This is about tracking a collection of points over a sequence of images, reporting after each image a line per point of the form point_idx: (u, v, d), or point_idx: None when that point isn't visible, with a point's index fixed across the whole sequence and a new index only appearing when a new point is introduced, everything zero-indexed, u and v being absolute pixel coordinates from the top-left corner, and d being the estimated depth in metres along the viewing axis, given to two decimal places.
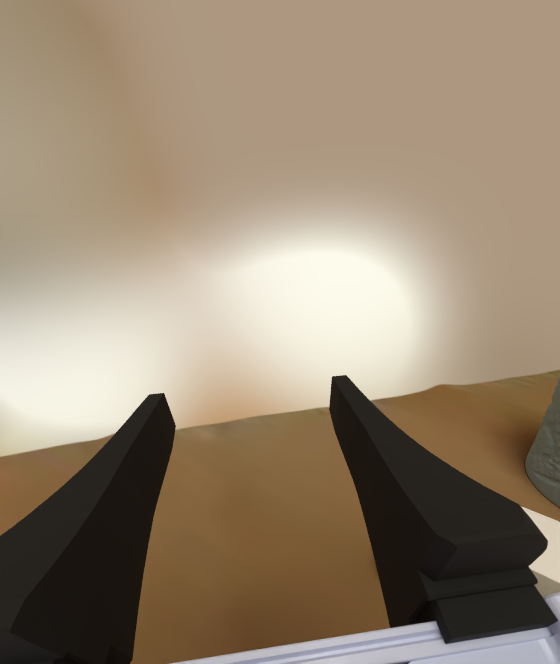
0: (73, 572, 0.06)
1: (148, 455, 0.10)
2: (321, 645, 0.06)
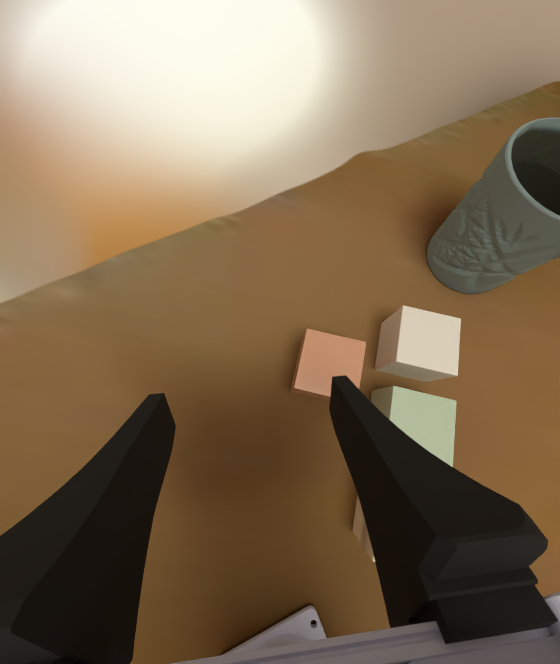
0: (73, 572, 0.06)
1: (148, 455, 0.10)
2: (321, 645, 0.06)
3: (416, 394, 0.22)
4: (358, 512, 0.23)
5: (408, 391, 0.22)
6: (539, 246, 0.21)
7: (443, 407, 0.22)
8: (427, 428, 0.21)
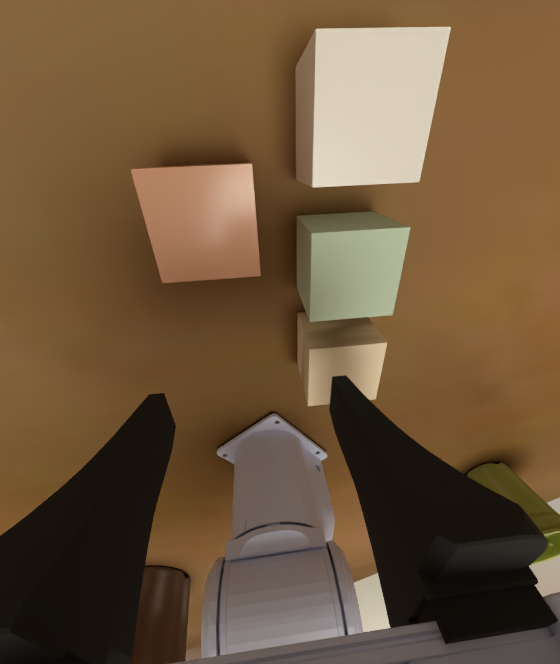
0: (73, 572, 0.06)
1: (148, 455, 0.10)
2: (321, 645, 0.06)
3: (348, 236, 0.14)
4: (298, 353, 0.23)
5: (336, 234, 0.14)
6: None
7: (389, 243, 0.14)
8: (363, 278, 0.15)
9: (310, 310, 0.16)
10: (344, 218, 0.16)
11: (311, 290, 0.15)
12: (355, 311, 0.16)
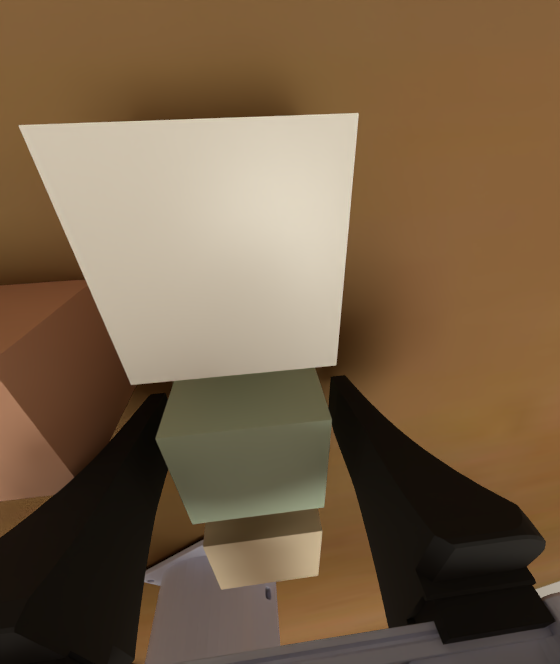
0: (76, 572, 0.06)
1: (150, 455, 0.10)
2: (321, 645, 0.06)
3: (223, 436, 0.08)
4: None
5: (201, 436, 0.08)
6: None
7: (298, 439, 0.08)
8: (266, 478, 0.09)
9: (189, 513, 0.10)
10: None
11: (181, 495, 0.09)
12: (262, 509, 0.10)
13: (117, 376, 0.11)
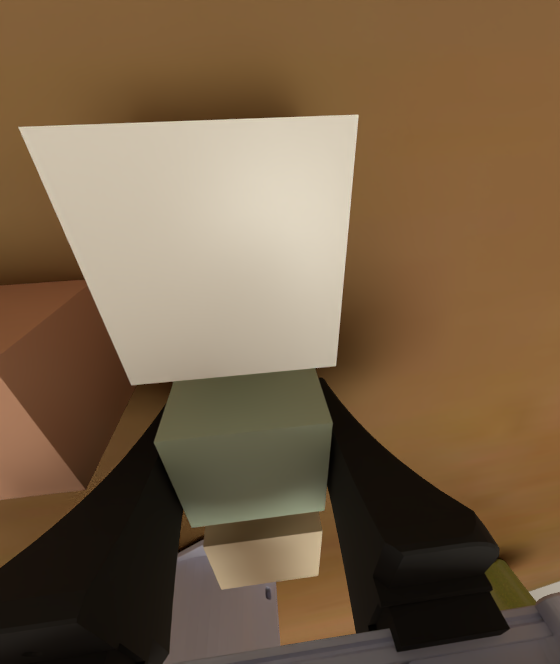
0: (123, 565, 0.06)
1: None
2: (321, 645, 0.06)
3: (223, 440, 0.08)
4: None
5: (200, 440, 0.08)
6: None
7: (299, 443, 0.08)
8: (266, 481, 0.09)
9: (188, 516, 0.10)
10: None
11: (180, 499, 0.09)
12: (262, 512, 0.10)
13: (117, 376, 0.11)
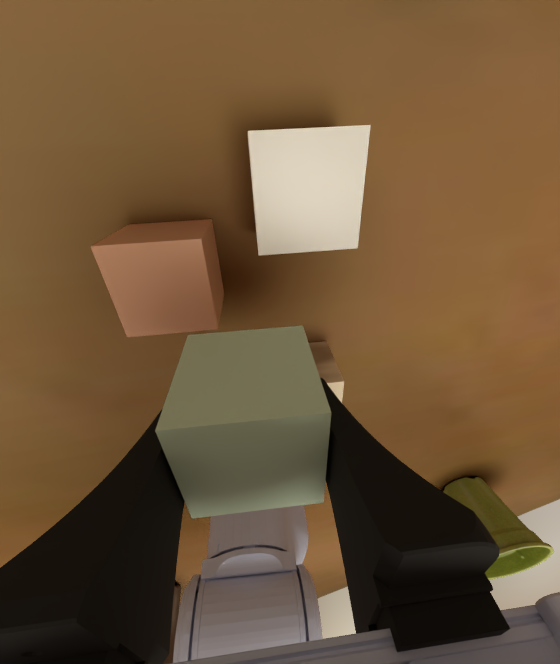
0: (123, 565, 0.06)
1: None
2: (321, 645, 0.06)
3: (223, 429, 0.08)
4: None
5: (201, 429, 0.08)
6: None
7: (298, 433, 0.08)
8: (265, 472, 0.09)
9: (188, 507, 0.10)
10: (248, 354, 0.11)
11: (181, 489, 0.09)
12: (262, 503, 0.10)
13: (219, 281, 0.18)
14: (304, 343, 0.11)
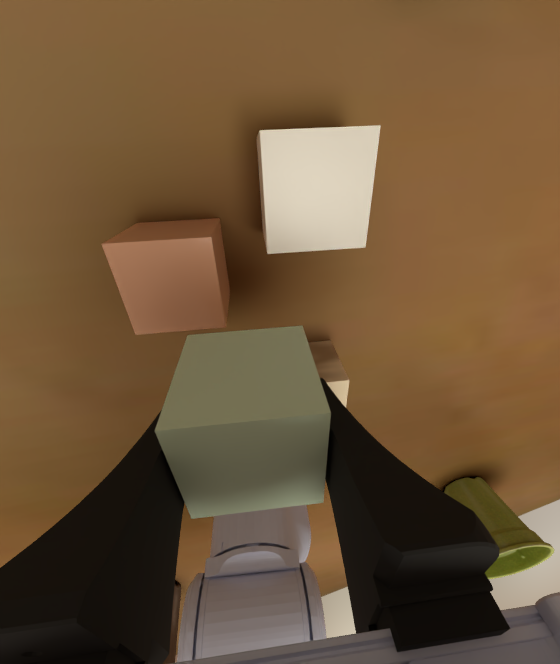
0: (123, 565, 0.06)
1: None
2: (321, 645, 0.06)
3: (223, 429, 0.08)
4: None
5: (200, 429, 0.08)
6: None
7: (297, 433, 0.08)
8: (265, 472, 0.09)
9: (188, 507, 0.10)
10: (248, 355, 0.11)
11: (181, 489, 0.09)
12: (261, 504, 0.10)
13: (226, 280, 0.18)
14: (304, 343, 0.11)
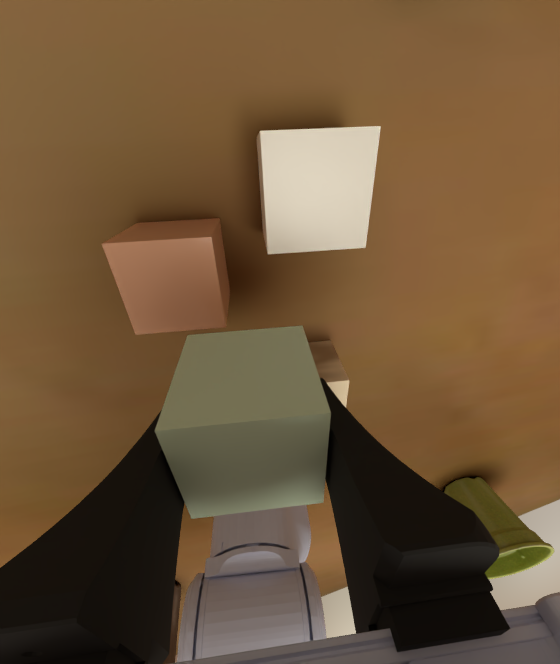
0: (123, 565, 0.06)
1: None
2: (321, 645, 0.06)
3: (223, 429, 0.08)
4: None
5: (200, 429, 0.08)
6: None
7: (297, 433, 0.08)
8: (265, 472, 0.09)
9: (188, 507, 0.10)
10: (248, 355, 0.11)
11: (181, 489, 0.09)
12: (261, 504, 0.10)
13: (226, 280, 0.18)
14: (304, 343, 0.11)
